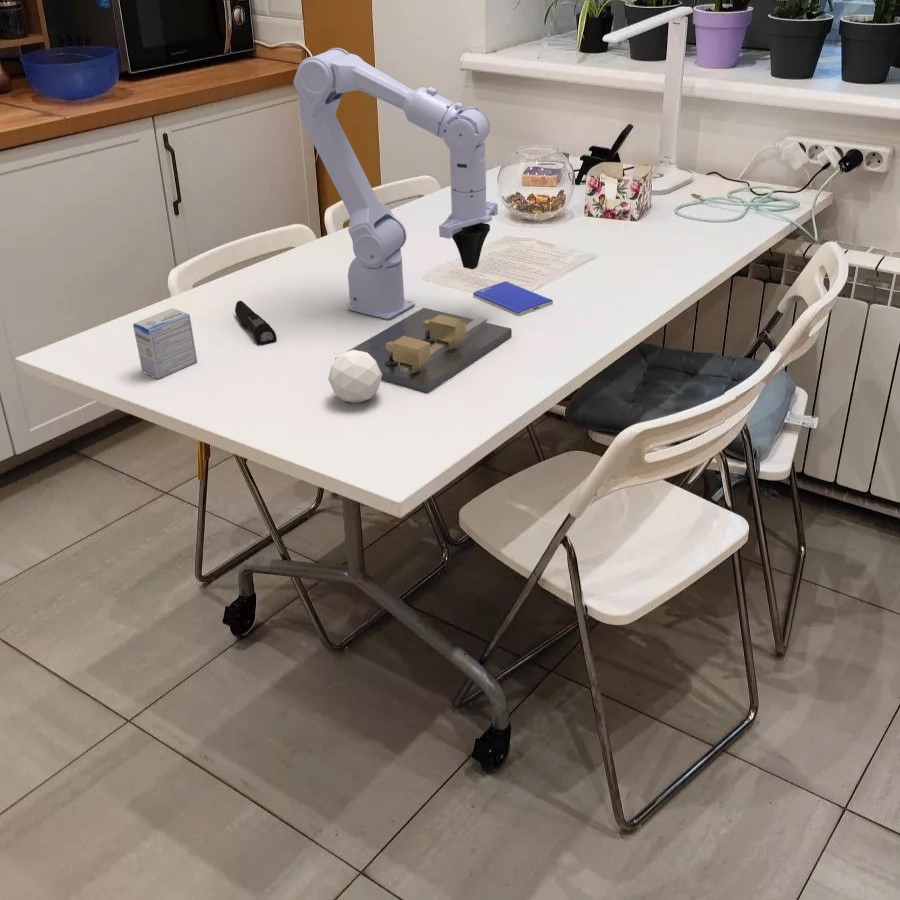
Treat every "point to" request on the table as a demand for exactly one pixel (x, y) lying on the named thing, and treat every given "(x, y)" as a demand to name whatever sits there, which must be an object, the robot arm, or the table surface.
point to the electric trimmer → (255, 324)
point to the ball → (355, 376)
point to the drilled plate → (441, 362)
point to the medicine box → (165, 342)
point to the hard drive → (512, 298)
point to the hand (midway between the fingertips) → (470, 267)
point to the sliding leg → (445, 330)
